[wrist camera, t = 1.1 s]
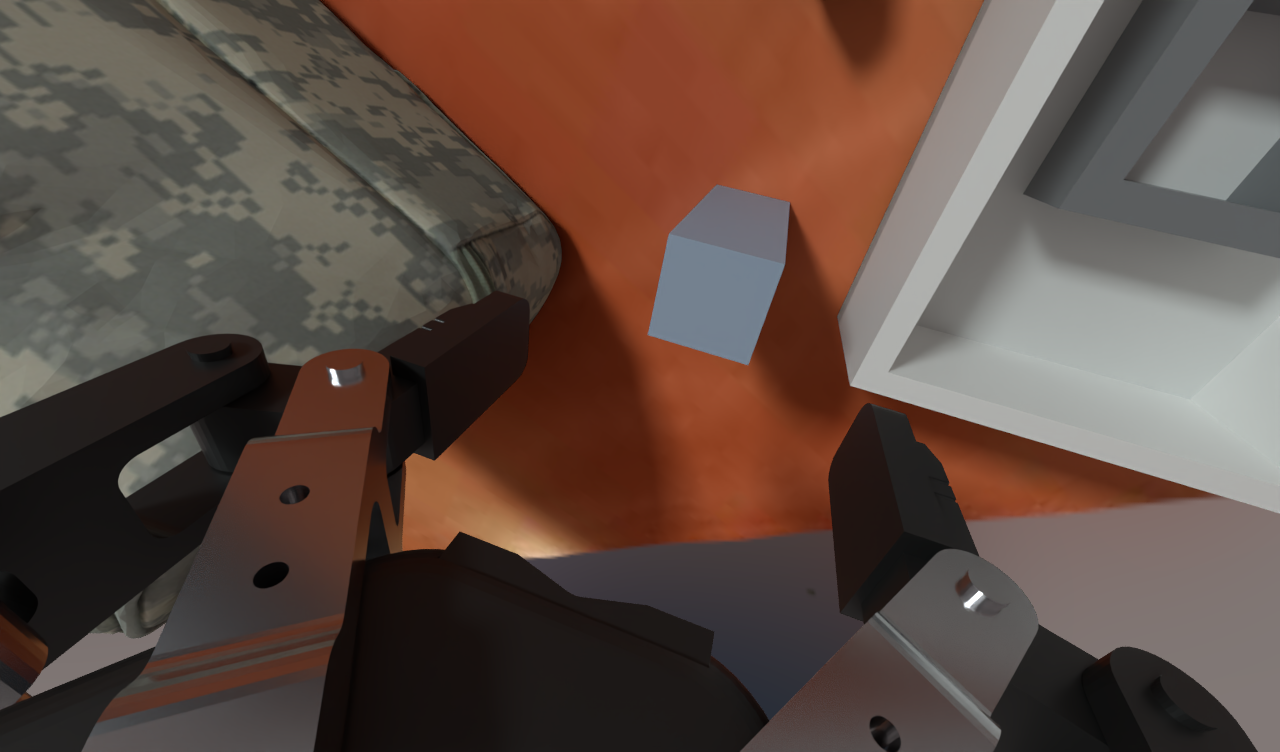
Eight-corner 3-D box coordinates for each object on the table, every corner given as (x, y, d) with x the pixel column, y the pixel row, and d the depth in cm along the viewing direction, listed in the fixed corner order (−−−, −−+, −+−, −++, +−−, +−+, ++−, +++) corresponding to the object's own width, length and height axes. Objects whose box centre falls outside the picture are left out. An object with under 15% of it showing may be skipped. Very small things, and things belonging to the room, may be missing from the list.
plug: (716, 184, 22) (668, 233, 14) (789, 202, 21) (785, 264, 13) (698, 255, 24) (647, 334, 16) (765, 273, 23) (748, 365, 15)
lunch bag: (174, 159, 31) (-661, 238, 13) (201, -149, 21) (-2961, -1475, 3) (466, 411, 36) (131, 724, 18) (603, 253, 26) (152, 605, 8)
